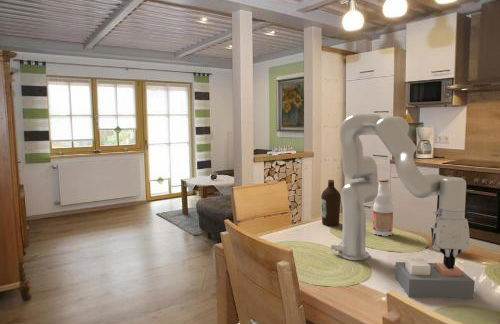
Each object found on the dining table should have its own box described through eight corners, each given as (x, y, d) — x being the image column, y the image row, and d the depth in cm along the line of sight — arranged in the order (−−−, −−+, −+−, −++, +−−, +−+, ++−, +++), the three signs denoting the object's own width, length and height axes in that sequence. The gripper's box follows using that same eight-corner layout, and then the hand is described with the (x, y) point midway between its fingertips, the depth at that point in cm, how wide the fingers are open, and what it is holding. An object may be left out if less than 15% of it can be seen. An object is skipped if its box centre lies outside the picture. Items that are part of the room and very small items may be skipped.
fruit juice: (381, 237, 171) (383, 181, 168) (368, 232, 179) (370, 178, 176) (396, 235, 174) (398, 180, 171) (383, 230, 183) (384, 177, 180)
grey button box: (408, 296, 113) (409, 279, 113) (395, 277, 127) (395, 262, 127) (473, 299, 111) (474, 281, 111) (452, 279, 125) (453, 263, 125)
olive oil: (336, 220, 201) (337, 178, 198) (343, 226, 190) (343, 181, 187) (318, 221, 200) (319, 178, 197) (324, 227, 189) (324, 181, 186)
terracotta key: (442, 283, 116) (442, 270, 115) (434, 275, 122) (435, 262, 121) (461, 283, 115) (462, 270, 115) (452, 275, 121) (453, 263, 121)
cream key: (411, 278, 117) (411, 265, 116) (405, 270, 123) (405, 258, 122) (429, 278, 116) (430, 266, 116) (422, 271, 122) (423, 259, 122)
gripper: (432, 217, 113) (430, 271, 115) (481, 217, 111) (478, 272, 113) (423, 211, 120) (421, 262, 122) (469, 211, 119) (466, 263, 121)
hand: (448, 266), depth 118 cm, fingers closed
